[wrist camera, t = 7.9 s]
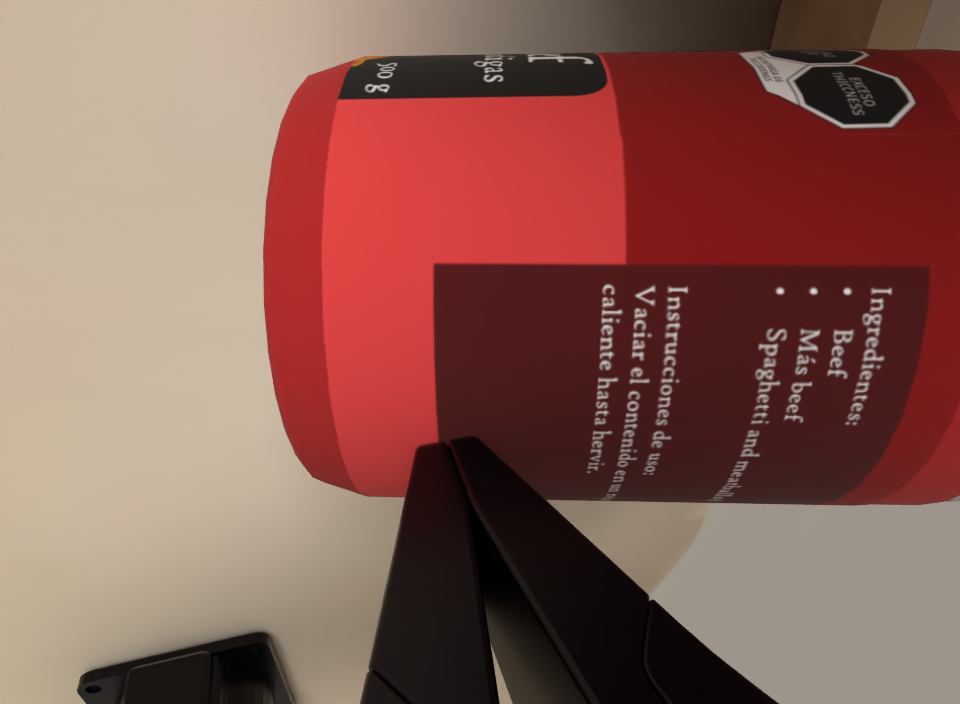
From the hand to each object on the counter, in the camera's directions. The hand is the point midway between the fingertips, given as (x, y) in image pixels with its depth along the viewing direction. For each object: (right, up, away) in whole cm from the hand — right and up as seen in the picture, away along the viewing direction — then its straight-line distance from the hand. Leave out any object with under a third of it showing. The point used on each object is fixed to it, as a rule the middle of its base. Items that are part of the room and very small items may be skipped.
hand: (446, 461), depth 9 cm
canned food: (-3, +3, +3) cm, 5 cm away
